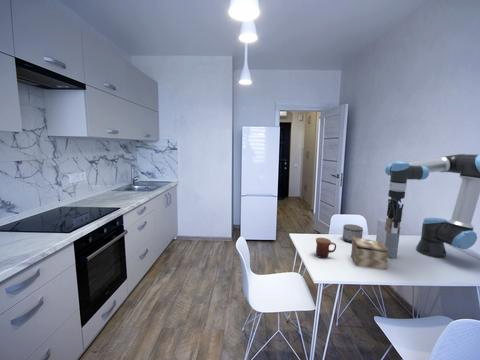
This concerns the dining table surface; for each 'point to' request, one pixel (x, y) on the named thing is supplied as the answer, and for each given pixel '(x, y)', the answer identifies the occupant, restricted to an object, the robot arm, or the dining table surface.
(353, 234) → the planter
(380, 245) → the lid
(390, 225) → the walnut block
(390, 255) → the hard drive box
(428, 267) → the dining table surface
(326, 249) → the mug
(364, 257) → the light wooden box
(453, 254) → the dining table surface
